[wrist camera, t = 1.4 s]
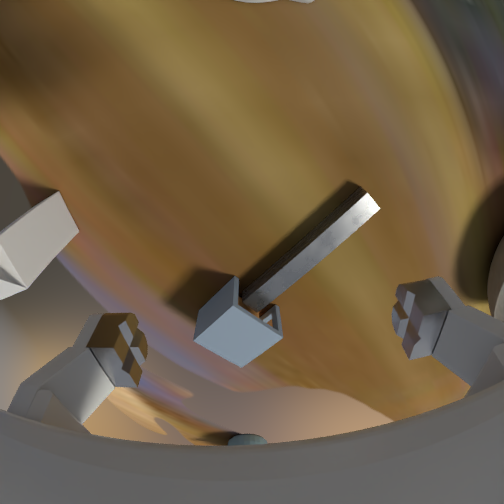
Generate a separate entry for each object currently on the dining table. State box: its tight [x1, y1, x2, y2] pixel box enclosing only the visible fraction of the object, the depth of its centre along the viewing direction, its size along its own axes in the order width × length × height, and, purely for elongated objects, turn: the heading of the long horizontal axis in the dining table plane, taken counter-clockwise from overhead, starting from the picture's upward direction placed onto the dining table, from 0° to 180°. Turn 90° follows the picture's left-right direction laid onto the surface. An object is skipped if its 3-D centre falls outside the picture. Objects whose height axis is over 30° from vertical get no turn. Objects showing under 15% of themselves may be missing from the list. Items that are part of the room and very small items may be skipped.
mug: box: [228, 434, 267, 446], centre depth 67 cm, size 15×11×10 cm
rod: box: [242, 186, 380, 313], centre depth 41 cm, size 23×3×3 cm, turn 137°
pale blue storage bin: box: [193, 276, 283, 368], centre depth 44 cm, size 9×9×7 cm
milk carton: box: [0, 191, 79, 299], centre depth 31 cm, size 7×7×19 cm
